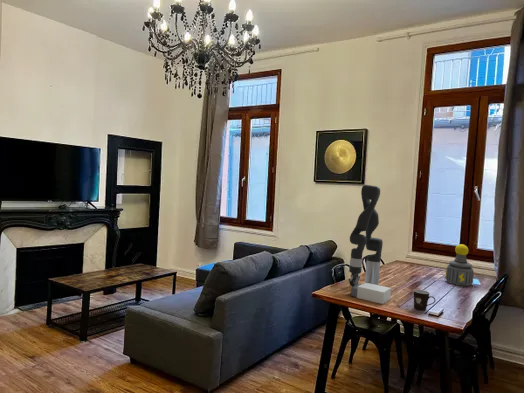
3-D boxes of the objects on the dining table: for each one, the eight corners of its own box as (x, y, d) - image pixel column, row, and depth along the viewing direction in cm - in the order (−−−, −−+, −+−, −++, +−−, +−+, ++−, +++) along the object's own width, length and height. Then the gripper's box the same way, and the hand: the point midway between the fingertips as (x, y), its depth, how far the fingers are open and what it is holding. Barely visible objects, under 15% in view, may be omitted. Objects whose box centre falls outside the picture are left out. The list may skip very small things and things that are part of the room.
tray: (359, 291, 247) (359, 283, 246) (387, 298, 236) (388, 289, 236) (350, 295, 235) (351, 287, 235) (380, 302, 225) (381, 294, 225)
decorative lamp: (447, 284, 287) (451, 244, 286) (443, 278, 305) (446, 241, 304) (475, 287, 281) (479, 247, 280) (469, 281, 299) (473, 244, 298)
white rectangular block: (364, 293, 244) (365, 282, 244) (389, 299, 235) (390, 288, 235) (356, 297, 233) (357, 286, 233) (382, 304, 224) (383, 292, 224)
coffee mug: (408, 306, 223) (410, 289, 222) (420, 305, 226) (421, 289, 225) (423, 313, 212) (425, 295, 212) (435, 312, 215) (437, 295, 215)
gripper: (354, 262, 249) (351, 288, 249) (345, 265, 238) (343, 292, 239) (365, 264, 244) (362, 291, 245) (357, 267, 233) (354, 295, 234)
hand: (353, 292), depth 242 cm, fingers closed
